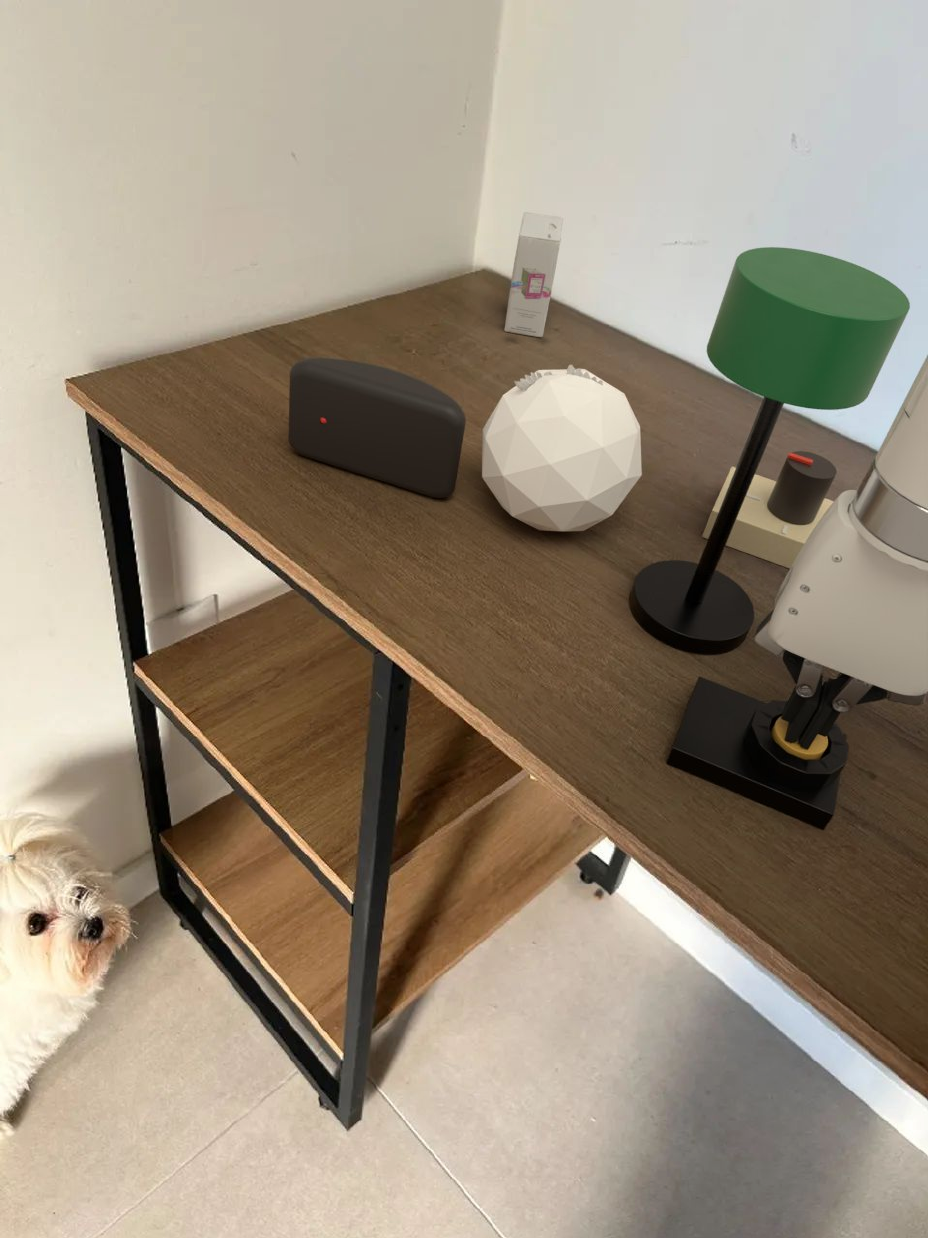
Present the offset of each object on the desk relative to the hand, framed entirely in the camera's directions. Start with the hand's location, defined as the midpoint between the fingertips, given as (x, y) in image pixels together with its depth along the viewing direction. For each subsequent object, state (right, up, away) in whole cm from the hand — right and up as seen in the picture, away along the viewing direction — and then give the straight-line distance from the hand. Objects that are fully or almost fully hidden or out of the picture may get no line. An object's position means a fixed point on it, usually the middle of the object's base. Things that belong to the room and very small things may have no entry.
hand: (799, 731), depth 63 cm
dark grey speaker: (-31, +21, +22) cm, 44 cm away
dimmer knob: (+7, +17, +22) cm, 29 cm away
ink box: (-15, +44, +53) cm, 71 cm away
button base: (-2, -2, +3) cm, 4 cm away
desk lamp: (-4, +8, +14) cm, 17 cm away
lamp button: (0, -1, +1) cm, 2 cm away
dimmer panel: (+7, +15, +24) cm, 30 cm away
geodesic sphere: (-15, +17, +22) cm, 31 cm away
